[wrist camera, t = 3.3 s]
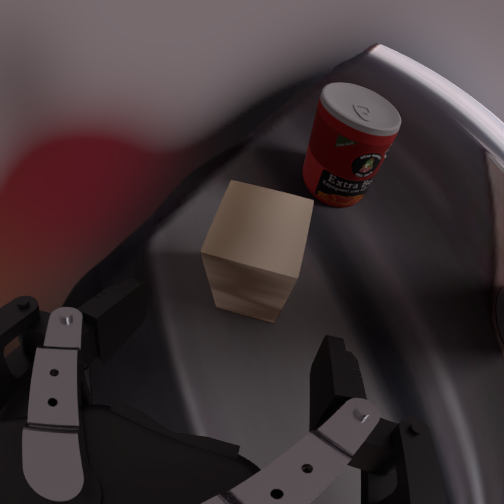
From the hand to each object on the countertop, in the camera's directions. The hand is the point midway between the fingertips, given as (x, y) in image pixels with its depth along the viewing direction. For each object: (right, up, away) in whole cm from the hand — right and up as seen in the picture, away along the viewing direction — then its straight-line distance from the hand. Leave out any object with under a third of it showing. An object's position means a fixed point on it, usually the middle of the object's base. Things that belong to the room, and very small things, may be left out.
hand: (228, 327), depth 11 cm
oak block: (+1, 0, +12) cm, 12 cm away
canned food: (+10, +11, +18) cm, 24 cm away
